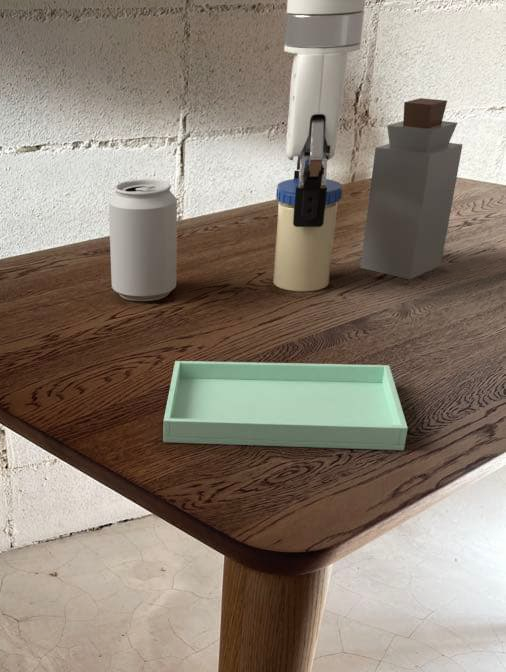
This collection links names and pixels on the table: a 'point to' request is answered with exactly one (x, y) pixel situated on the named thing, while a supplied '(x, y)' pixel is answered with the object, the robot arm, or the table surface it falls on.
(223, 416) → the tray
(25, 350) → the table surface
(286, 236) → the jam jar
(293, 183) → the jar lid
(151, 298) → the can
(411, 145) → the perfume bottle
